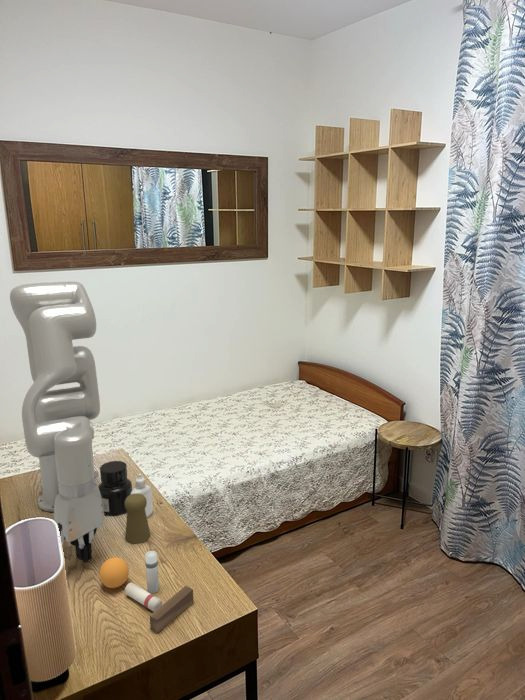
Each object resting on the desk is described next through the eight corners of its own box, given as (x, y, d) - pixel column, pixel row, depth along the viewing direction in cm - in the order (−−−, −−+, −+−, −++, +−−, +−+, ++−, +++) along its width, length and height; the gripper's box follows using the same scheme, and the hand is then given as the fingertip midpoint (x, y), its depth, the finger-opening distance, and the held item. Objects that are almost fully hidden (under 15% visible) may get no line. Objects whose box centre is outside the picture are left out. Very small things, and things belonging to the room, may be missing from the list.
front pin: (122, 591, 107) (150, 609, 102) (130, 580, 108) (158, 597, 103) (128, 596, 109) (156, 614, 104) (135, 585, 110) (163, 602, 105)
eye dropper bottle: (154, 518, 136) (152, 476, 133) (132, 522, 134) (129, 480, 131) (151, 509, 140) (149, 468, 137) (130, 513, 138) (127, 472, 135)
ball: (115, 594, 106) (101, 593, 110) (138, 576, 111) (123, 576, 115) (103, 568, 106) (89, 568, 110) (127, 551, 111) (112, 551, 115)
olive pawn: (144, 545, 124) (141, 504, 122) (120, 542, 126) (117, 501, 123) (154, 531, 130) (152, 491, 127) (131, 528, 131) (129, 488, 128)
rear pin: (144, 590, 110) (142, 555, 107) (153, 583, 112) (151, 548, 109) (153, 595, 108) (150, 559, 106) (161, 588, 110) (159, 553, 108)
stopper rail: (150, 628, 99) (149, 615, 99) (186, 597, 107) (185, 585, 107) (157, 633, 98) (157, 620, 98) (193, 601, 106) (193, 589, 106)
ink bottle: (100, 499, 144) (97, 460, 141) (133, 495, 146) (130, 456, 143) (98, 519, 135) (94, 477, 132) (133, 514, 137) (130, 473, 134)
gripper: (94, 467, 121) (100, 536, 125) (35, 495, 109) (44, 570, 113) (116, 476, 117) (122, 547, 121) (57, 506, 105) (66, 584, 109)
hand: (84, 558), depth 117 cm, fingers closed
